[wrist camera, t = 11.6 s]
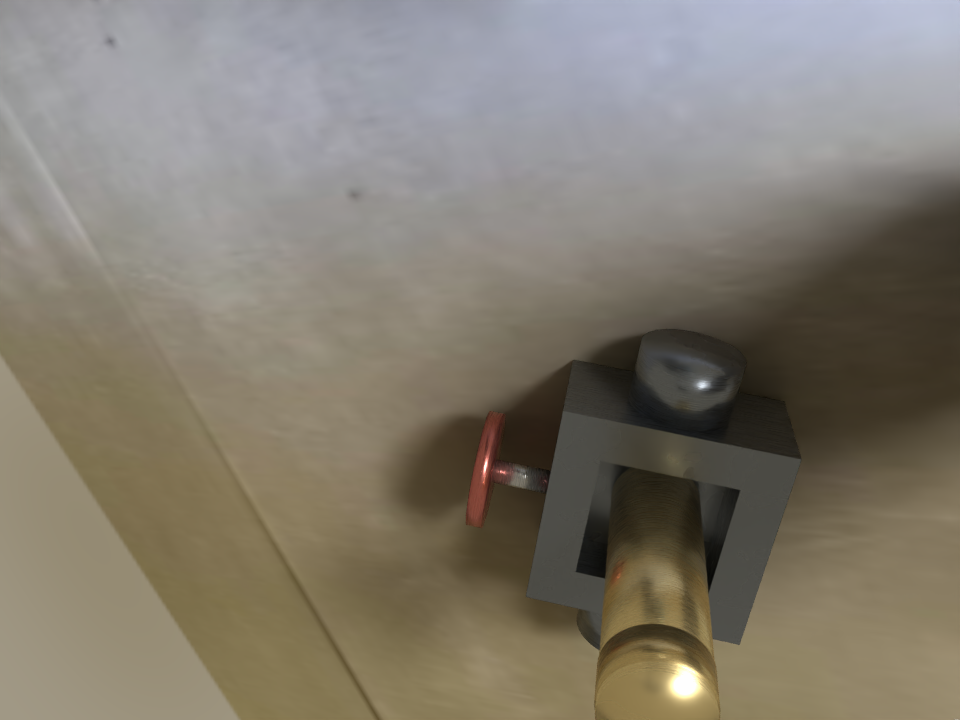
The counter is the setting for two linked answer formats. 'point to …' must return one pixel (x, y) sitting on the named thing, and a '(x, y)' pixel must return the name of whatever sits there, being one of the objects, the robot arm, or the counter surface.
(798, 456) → the valve body
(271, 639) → the counter surface
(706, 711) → the fitting
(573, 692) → the counter surface
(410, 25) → the counter surface
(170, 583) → the counter surface
